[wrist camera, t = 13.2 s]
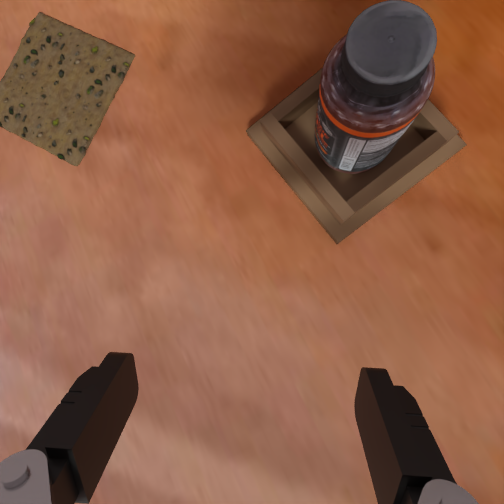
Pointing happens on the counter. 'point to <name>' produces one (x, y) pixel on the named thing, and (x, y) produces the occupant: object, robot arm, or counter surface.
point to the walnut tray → (342, 184)
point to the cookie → (60, 87)
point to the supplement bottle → (374, 85)
